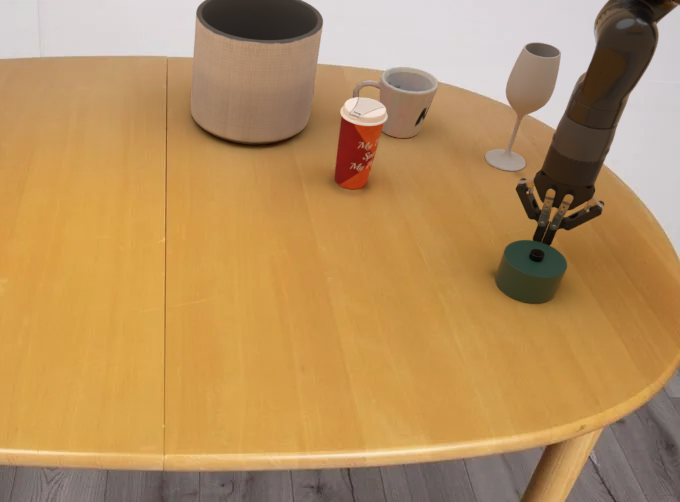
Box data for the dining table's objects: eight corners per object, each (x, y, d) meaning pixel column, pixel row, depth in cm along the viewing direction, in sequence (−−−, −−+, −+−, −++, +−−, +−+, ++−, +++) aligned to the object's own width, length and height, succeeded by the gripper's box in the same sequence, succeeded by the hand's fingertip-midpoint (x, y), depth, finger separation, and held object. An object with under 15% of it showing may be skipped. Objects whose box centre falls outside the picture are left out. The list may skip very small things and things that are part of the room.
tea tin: (550, 269, 135) (563, 238, 131) (561, 307, 128) (575, 275, 124) (491, 262, 135) (502, 231, 131) (498, 300, 129) (510, 268, 125)
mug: (427, 145, 161) (440, 96, 154) (346, 135, 162) (355, 86, 156) (425, 118, 168) (438, 69, 162) (348, 109, 170) (357, 60, 163)
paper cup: (359, 198, 147) (375, 123, 138) (319, 181, 151) (332, 107, 141) (380, 178, 152) (397, 105, 143) (342, 163, 155) (356, 90, 146)
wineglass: (482, 167, 156) (517, 55, 142) (485, 146, 162) (519, 37, 147) (526, 175, 155) (566, 63, 140) (527, 154, 160) (566, 44, 146)
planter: (209, 82, 176) (215, -19, 162) (319, 102, 171) (335, 1, 158) (174, 135, 160) (177, 29, 147) (294, 159, 156) (309, 52, 142)
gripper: (633, 147, 123) (588, 245, 135) (538, 121, 128) (503, 219, 139) (625, 171, 118) (579, 271, 130) (526, 143, 123) (491, 243, 134)
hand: (540, 244), depth 135 cm, fingers closed
